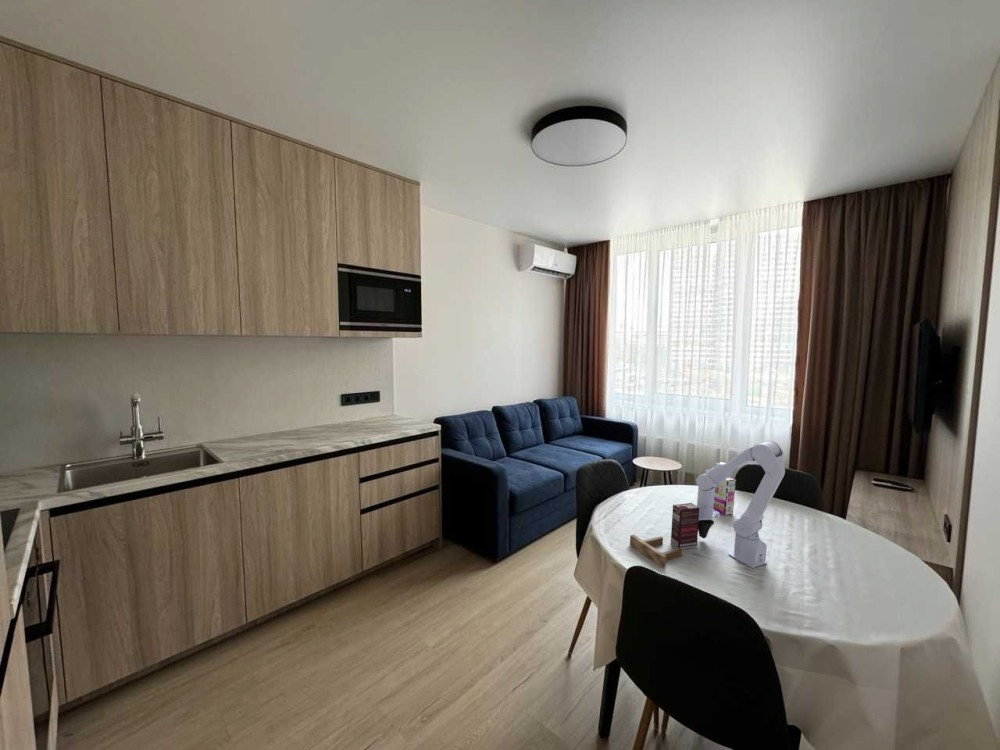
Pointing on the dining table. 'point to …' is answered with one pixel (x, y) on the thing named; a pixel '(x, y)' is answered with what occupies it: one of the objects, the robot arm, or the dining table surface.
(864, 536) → the dining table surface
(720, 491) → the candy bar box
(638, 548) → the end holder
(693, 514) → the supplement box
